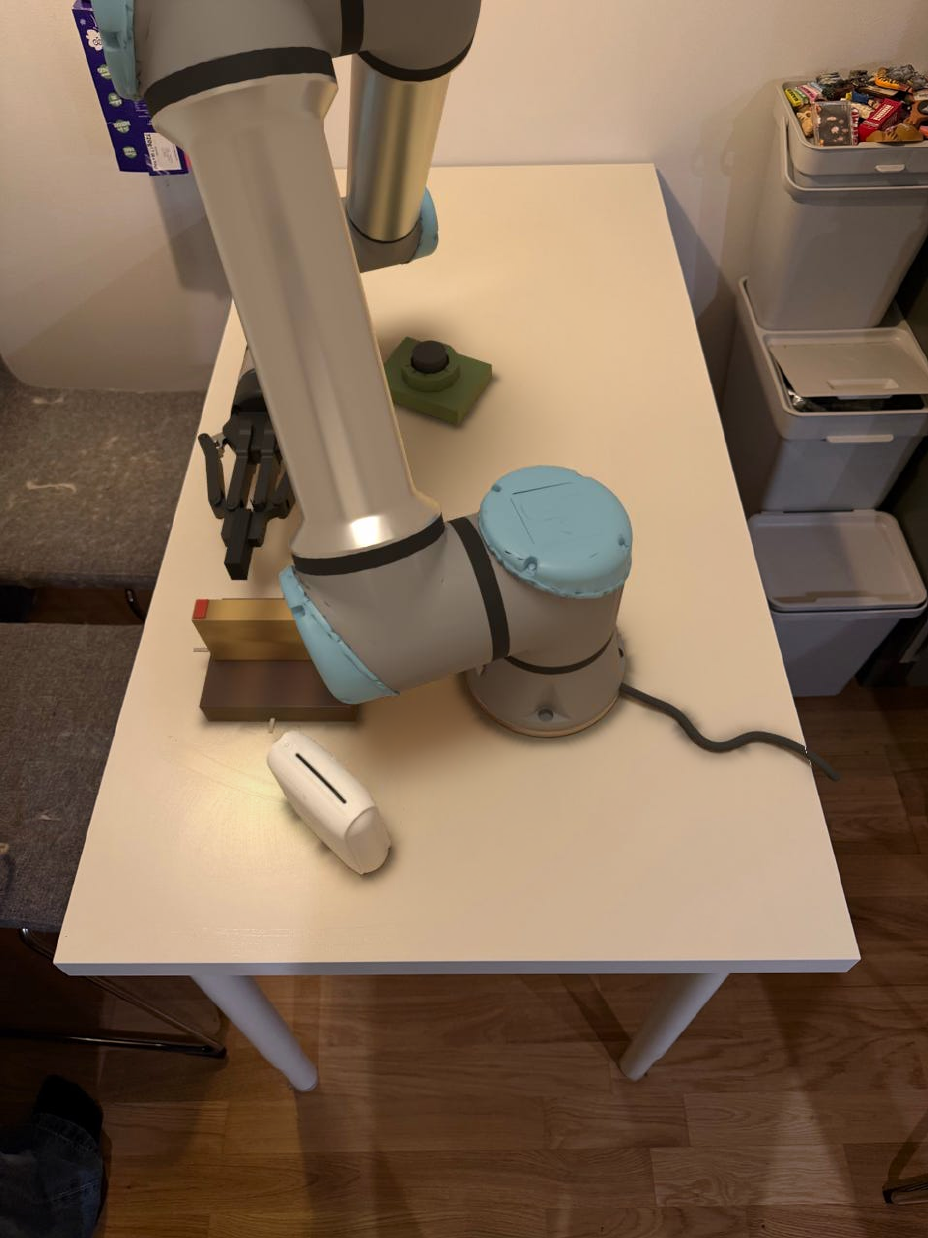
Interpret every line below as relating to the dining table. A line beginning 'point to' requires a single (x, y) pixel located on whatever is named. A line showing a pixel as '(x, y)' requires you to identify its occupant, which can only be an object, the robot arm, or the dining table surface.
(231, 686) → the panel
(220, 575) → the dining table surface
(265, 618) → the golden wooden board
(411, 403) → the button block
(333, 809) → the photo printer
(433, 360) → the button
